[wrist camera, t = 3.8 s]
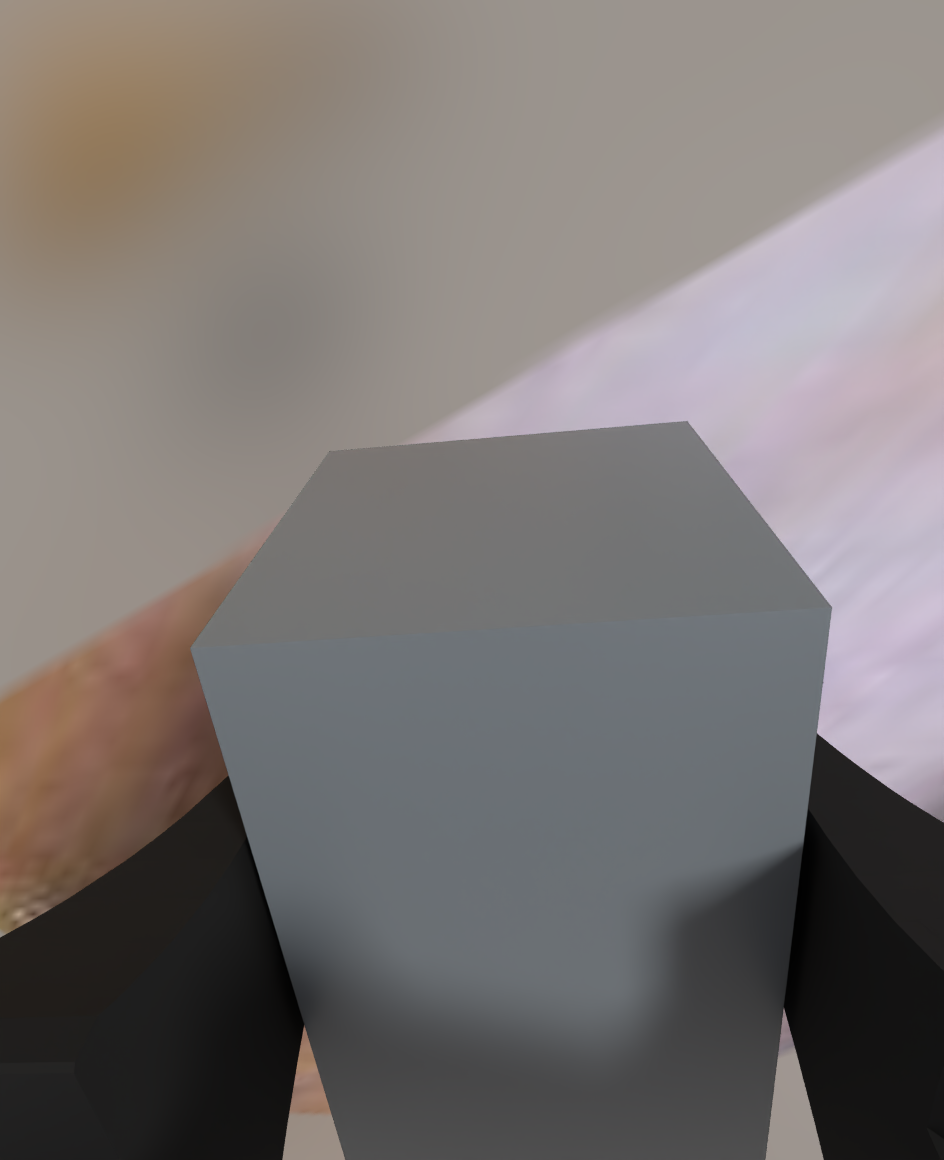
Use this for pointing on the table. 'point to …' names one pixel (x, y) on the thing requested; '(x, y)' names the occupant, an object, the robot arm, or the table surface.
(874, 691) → the table surface
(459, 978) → the gray block
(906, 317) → the table surface
